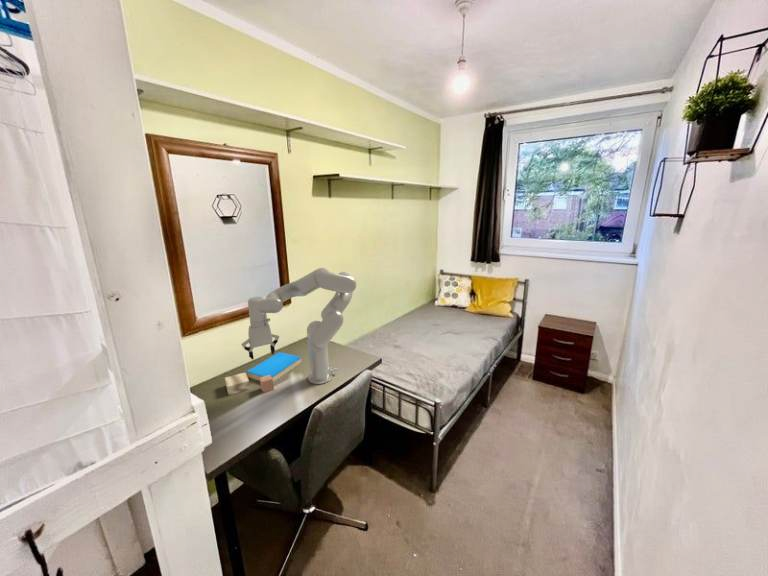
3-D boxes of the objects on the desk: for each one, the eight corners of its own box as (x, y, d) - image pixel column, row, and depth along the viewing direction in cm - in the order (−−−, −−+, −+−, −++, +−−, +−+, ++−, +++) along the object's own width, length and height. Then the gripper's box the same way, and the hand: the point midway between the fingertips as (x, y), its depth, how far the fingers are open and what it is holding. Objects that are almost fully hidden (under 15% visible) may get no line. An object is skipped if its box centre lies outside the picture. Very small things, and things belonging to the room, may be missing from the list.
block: (271, 385, 165) (269, 374, 163) (273, 389, 161) (272, 378, 159) (261, 388, 162) (259, 377, 161) (263, 392, 158) (262, 382, 157)
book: (301, 356, 187) (270, 377, 165) (302, 363, 188) (271, 384, 166) (278, 351, 194) (245, 370, 172) (279, 358, 195) (246, 377, 173)
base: (246, 380, 170) (245, 372, 169) (250, 389, 162) (249, 380, 160) (226, 386, 165) (224, 377, 164) (228, 395, 157) (227, 386, 155)
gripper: (275, 317, 160) (278, 348, 164) (237, 324, 150) (242, 357, 155) (279, 321, 154) (282, 354, 158) (240, 329, 144) (245, 363, 149)
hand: (262, 355), depth 157 cm, fingers open, 9 cm apart
